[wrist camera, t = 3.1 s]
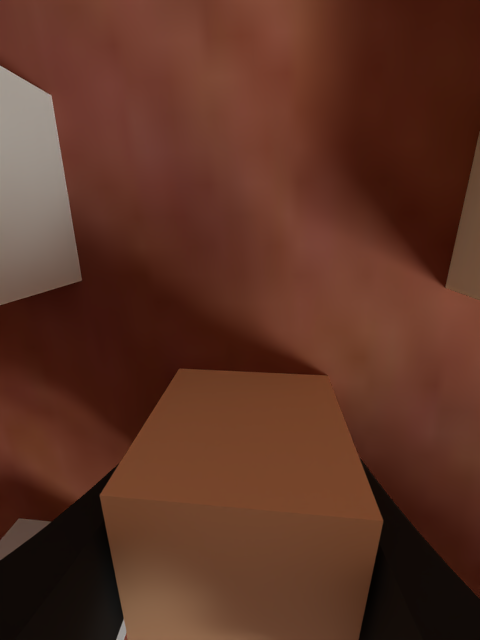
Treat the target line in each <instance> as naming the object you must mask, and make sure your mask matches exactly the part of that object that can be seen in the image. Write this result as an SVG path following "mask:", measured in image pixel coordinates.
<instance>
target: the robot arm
mask: <svg viewBox="0 0 480 640" xmlns="http://www.w3.org/2000/svg"><path fill="white" fill-rule="evenodd" d="M359 458H360V457H359ZM360 461H361V464H362V466H363V469H364V471H365V474H366V477H367V479H368V482H369V485H370V487H371V490H372V492H373V495H374V498H375V500H376V503H377V506H378V508H379V511H380V513H381V516H382V519H383V525H382V530H381V535H380V539H379V544H378V549H377V554H376V559H375V563H374V568H373V573H372V578H371V583H370V587H369V592H368V597H367V602H366V606H365V611H364V616H363V621H362V626H361V630H360V635H359V640H480V599H479V598H478V597H477V596H476V595H475V594H474V593H473V592H472V590H471V589H470V588H469V587H468V586H467V585H466V584H465V583H464V582H463V581H462V580H461V579H460V578H459V577H458V576H457V575H456V573H455V572H454V571H453V570H452V569H451V568H450V567H449V566H448V565H447V564H446V563H445V561H444V560H443V559H442V558H441V557H440V556H439V555H438V554H437V552H436V551H435V550H434V549H433V548H432V547H431V546H430V545H429V544H428V542H427V541H426V540H425V539H424V538H423V537H422V535H421V534H420V533H419V532H418V531H417V530H416V528H415V527H414V526H413V525H412V524H411V522H410V521H409V520H408V519H407V518H406V516H405V515H404V514H403V513H402V512H401V510H400V509H399V508H398V507H397V505H396V504H395V503H394V502H393V500H392V499H391V498H390V497H389V495H388V494H387V493H386V492H385V490H384V489H383V488H382V486H381V485H380V484H379V483H378V481H377V480H376V479H375V477H374V476H373V475H372V473H371V472H370V471H369V469H368V468H367V467H366V465H365V464H364V463H363V461H362V460H361V459H360ZM118 465H119V464H118ZM118 465H117V466H116V467H115V468H113V469H112V470H111V471H110V472H109V473H108V474H107V475H106V476H105V477H103V478H102V479H101V480H100V481H99V482H98V483H97V484H96V485H95V486H93V487H92V488H91V489H90V490H89V491H88V492H87V493H85V494H84V495H83V496H82V497H81V498H80V499H78V500H77V501H76V502H75V503H74V504H72V505H71V506H70V507H69V508H68V509H66V510H65V511H64V512H63V513H62V514H60V515H59V516H58V517H57V518H56V519H54V520H53V521H52V522H51V523H49V524H48V525H47V526H46V527H44V528H43V529H42V530H40V531H39V532H38V533H37V534H35V535H34V536H33V537H31V538H30V539H29V540H27V541H26V542H25V543H23V544H22V545H21V546H19V547H18V548H16V549H15V550H14V551H12V552H11V553H10V554H8V555H7V556H5V557H4V558H3V559H1V560H0V640H116V639H117V636H118V633H119V631H120V628H121V625H122V622H123V620H124V617H123V612H122V607H121V602H120V597H119V592H118V586H117V581H116V576H115V571H114V566H113V561H112V556H111V551H110V546H109V541H108V536H107V531H106V526H105V520H104V515H103V510H102V505H101V500H100V494H101V492H102V491H103V489H104V487H105V486H106V484H107V483H108V481H109V479H110V478H111V476H112V475H113V473H114V471H115V470H116V468H117V467H118Z"/></svg>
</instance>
